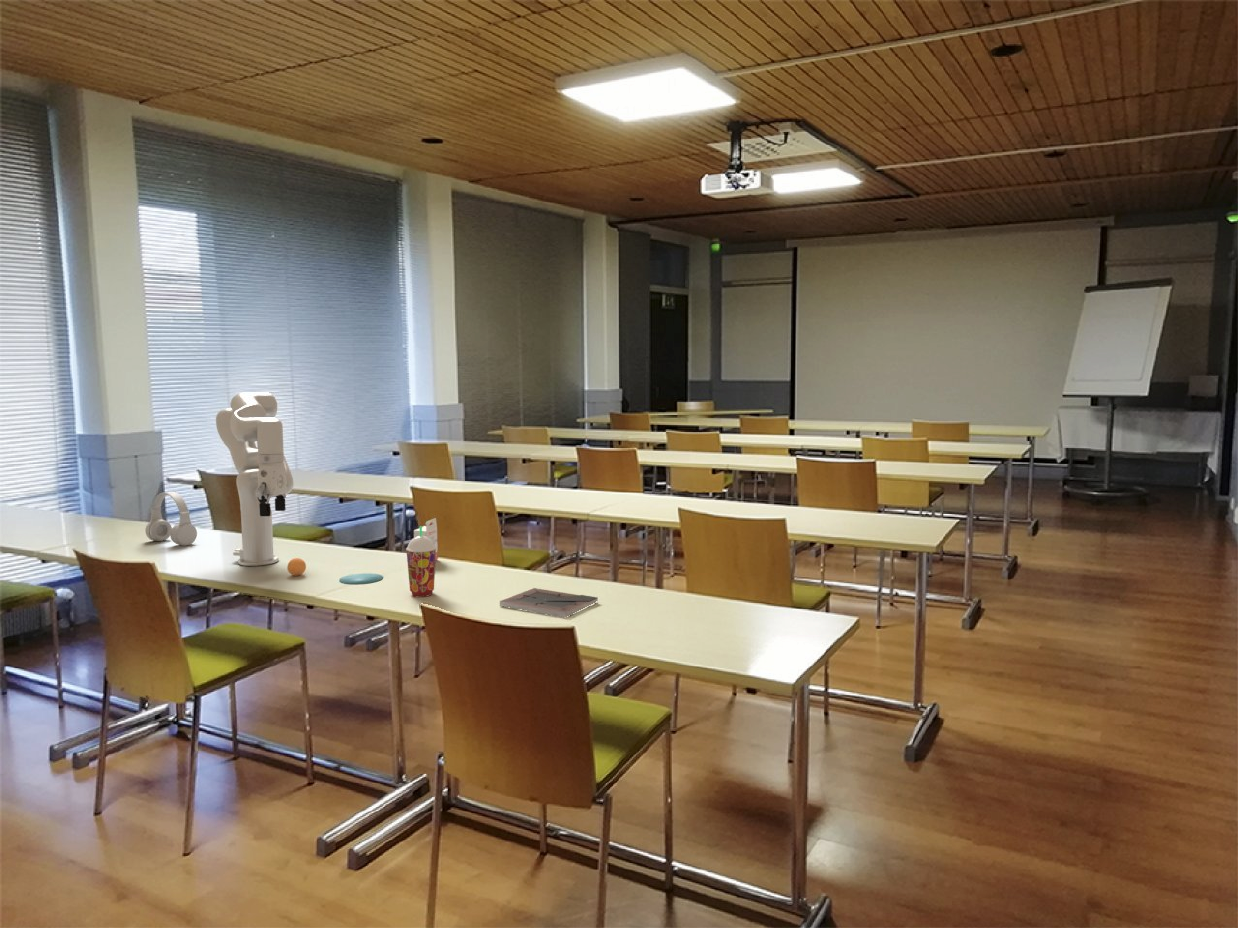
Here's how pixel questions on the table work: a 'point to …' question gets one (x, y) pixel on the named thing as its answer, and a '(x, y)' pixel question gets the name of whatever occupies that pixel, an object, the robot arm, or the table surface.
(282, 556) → the table surface
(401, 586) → the table surface
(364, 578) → the disc
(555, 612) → the grey flat slab
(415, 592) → the smoothie
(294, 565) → the ball
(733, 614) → the table surface
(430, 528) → the ink cartridge box
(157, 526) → the headphones
